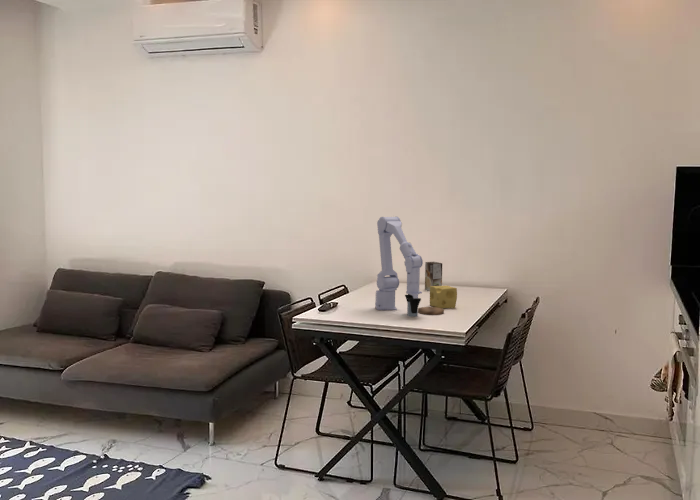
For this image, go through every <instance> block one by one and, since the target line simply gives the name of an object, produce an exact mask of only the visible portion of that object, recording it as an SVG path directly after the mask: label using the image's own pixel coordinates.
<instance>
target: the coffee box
mask: <svg viewBox="0 0 700 500" xmlns="http://www.w3.org/2000/svg"><path fill="white" fill-rule="evenodd" d="M424 263H425V264H424V265H425V266H424V291H428V292H430V286H443V262H442V263H441V262H437V261H425V262H424Z"/></svg>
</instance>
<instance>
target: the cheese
mask: <svg viewBox="0 0 700 500" xmlns="http://www.w3.org/2000/svg"><path fill="white" fill-rule="evenodd" d="M457 299H458V289H457V287H453V286H450V285H442V286H430V291H429V305H430V306H429V307H437V308H442V309H456V307H457V306H456V305H457Z"/></svg>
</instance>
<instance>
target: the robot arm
mask: <svg viewBox="0 0 700 500" xmlns="http://www.w3.org/2000/svg"><path fill="white" fill-rule="evenodd" d="M376 222H377V223H376V224H377V233H378V241H379V251H380V252H379V254H380V262H381V263H380V264H381V265H380V266H381V270H380V272H379V273H377V275H376V276H377V277H376V278H377V280H376V287H377V288H378V290H376V291H375V302H374V303H375V304H374V307H375V308H376V310H379V311H383V310H384V311H385V310H386V311H387V310H388V311H391V310H393V311H394V310H395V311H397V309H398V308H397V307H396V291H397V290H398V288H399V286H400V279H399V276H398V273H397V271H395V269H394V268H393V265H394V264H393V257H392V256H393V254H392V246H391V245H392V243H391V237H392V235H394V236H393V237H395V239H396V240H397V242H398V244H399V250H400V252H401V254H402V257H403V258H404V259H405V260H404V267H405V272H406V292H405V293H406V294H404V297H405V299H406V302H407V304H408V302H410V305H411V312H412V313H417V309H418V308H419V305H420V302H421V301H422V298H420V297H419V295H421V294H422V293H423V292H422V291H420V276H421V275H420V274H421V268H422V267H423V264H424V263H423V261H424V260H423V258H422V256H421V255H420V254H419V253H417V252H416V250H415V249H414V247H413V245H412V243H411V242H408V240H407V239H406V236H405V233H404V231H403V229H402V226H403V223H402V220H401V218H400V217H399V216H380V217H379V218H378V220H377V221H376Z"/></svg>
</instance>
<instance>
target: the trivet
mask: <svg viewBox="0 0 700 500" xmlns="http://www.w3.org/2000/svg"><path fill="white" fill-rule="evenodd" d="M418 314H420V315H429V316H437V315H438V316H439V315H444V314H445V308H443V309H442V308H437V307H433V306H424V307H423V306H422V307H418Z"/></svg>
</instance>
